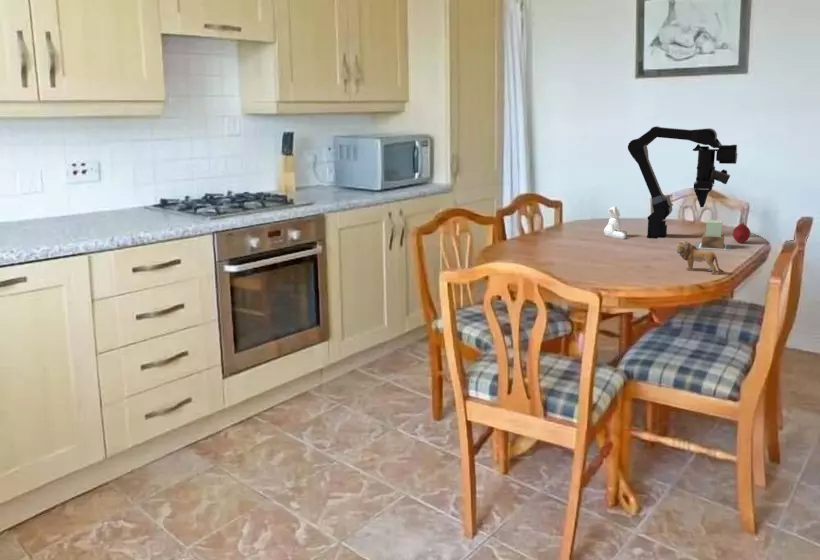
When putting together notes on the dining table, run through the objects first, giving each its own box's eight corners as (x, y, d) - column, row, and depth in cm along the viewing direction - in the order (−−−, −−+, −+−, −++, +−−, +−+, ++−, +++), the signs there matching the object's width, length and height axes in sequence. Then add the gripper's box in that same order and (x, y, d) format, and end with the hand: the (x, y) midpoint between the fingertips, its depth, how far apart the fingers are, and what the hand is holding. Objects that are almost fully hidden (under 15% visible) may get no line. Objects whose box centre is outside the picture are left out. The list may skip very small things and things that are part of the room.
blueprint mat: (693, 249, 255) (693, 248, 255) (695, 243, 266) (695, 242, 265) (730, 251, 250) (730, 250, 250) (731, 245, 261) (731, 244, 260)
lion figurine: (672, 269, 227) (674, 241, 225) (678, 266, 231) (679, 238, 229) (721, 275, 218) (723, 246, 216) (726, 272, 222) (728, 243, 220)
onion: (751, 245, 259) (753, 223, 258) (734, 245, 261) (735, 223, 259) (747, 242, 265) (749, 220, 263) (730, 242, 266) (732, 220, 264)
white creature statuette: (625, 239, 277) (626, 208, 274) (602, 238, 279) (603, 207, 277) (627, 235, 285) (628, 204, 282) (604, 234, 288) (605, 204, 285)
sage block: (705, 236, 256) (706, 222, 254) (706, 233, 260) (707, 220, 259) (720, 237, 254) (721, 223, 252) (721, 234, 258) (722, 220, 257)
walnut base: (701, 247, 256) (702, 236, 255) (702, 244, 262) (703, 233, 261) (722, 248, 253) (723, 237, 252) (723, 245, 259) (724, 234, 258)
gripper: (728, 165, 254) (725, 209, 257) (730, 161, 270) (727, 202, 274) (695, 165, 258) (692, 208, 262) (698, 161, 275) (695, 201, 278)
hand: (702, 205), depth 269 cm, fingers open, 9 cm apart
